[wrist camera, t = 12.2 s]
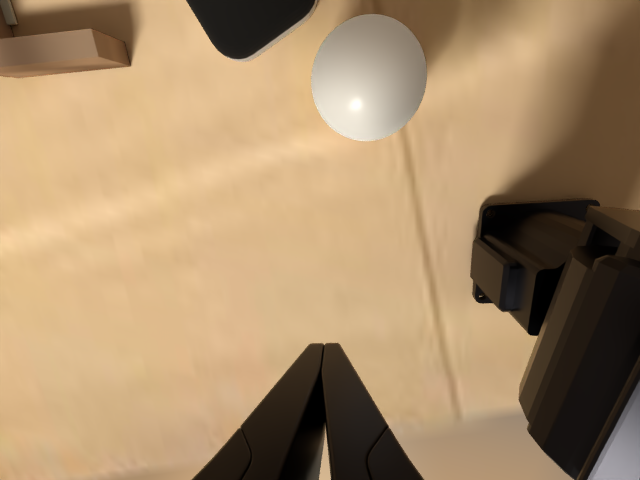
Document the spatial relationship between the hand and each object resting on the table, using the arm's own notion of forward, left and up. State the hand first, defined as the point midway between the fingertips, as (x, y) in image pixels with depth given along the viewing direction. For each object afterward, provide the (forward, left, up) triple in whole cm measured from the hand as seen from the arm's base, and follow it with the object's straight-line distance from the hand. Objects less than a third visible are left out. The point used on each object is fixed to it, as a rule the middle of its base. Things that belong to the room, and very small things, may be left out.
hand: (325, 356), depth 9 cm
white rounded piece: (-2, -8, -12) cm, 15 cm away
